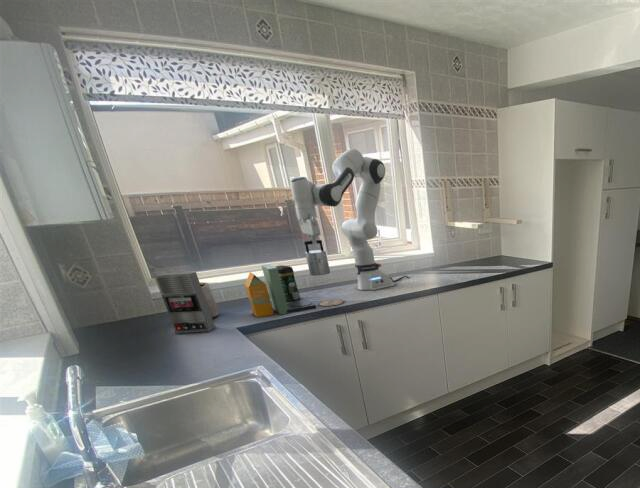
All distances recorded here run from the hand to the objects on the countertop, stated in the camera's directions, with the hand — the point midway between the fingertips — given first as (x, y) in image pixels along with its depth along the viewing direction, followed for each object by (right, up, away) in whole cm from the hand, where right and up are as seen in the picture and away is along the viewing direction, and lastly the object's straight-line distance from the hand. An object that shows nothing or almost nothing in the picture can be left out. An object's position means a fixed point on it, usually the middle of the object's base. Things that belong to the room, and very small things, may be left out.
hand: (313, 244), depth 210 cm
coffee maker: (-13, -31, +7) cm, 34 cm away
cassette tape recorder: (-41, -47, -24) cm, 67 cm away
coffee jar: (-24, -23, +24) cm, 41 cm away
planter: (-53, -38, -6) cm, 66 cm away
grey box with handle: (+1, -14, +6) cm, 15 cm away
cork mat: (+3, -27, +14) cm, 31 cm away
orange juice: (-24, -35, -1) cm, 43 cm away
